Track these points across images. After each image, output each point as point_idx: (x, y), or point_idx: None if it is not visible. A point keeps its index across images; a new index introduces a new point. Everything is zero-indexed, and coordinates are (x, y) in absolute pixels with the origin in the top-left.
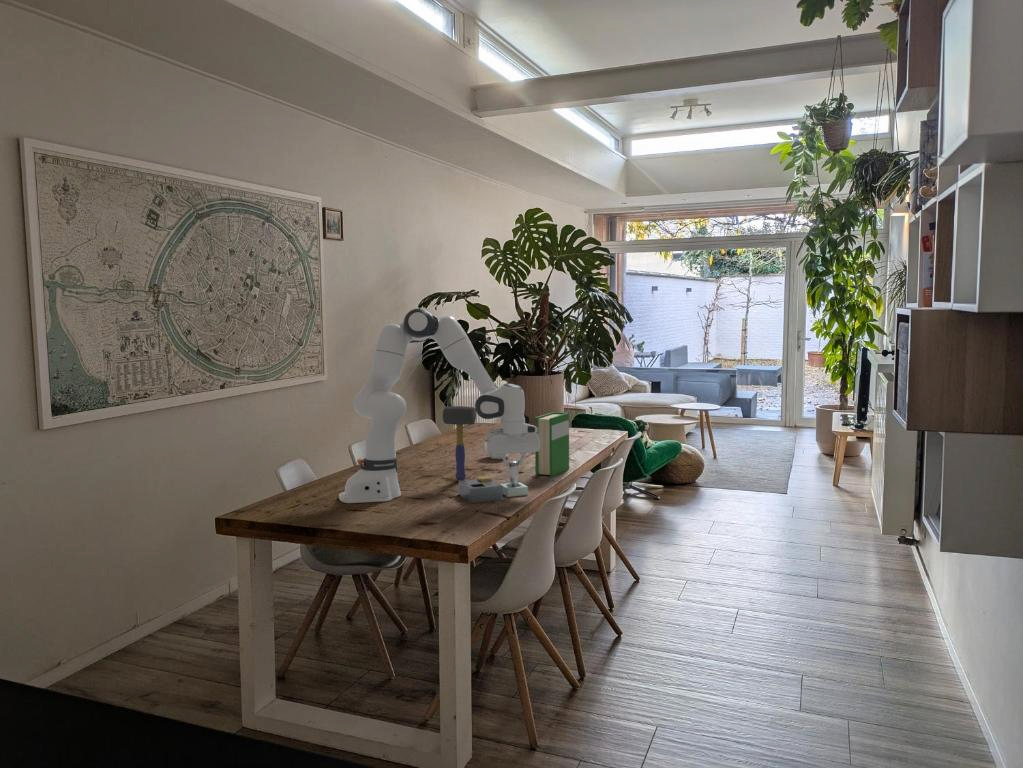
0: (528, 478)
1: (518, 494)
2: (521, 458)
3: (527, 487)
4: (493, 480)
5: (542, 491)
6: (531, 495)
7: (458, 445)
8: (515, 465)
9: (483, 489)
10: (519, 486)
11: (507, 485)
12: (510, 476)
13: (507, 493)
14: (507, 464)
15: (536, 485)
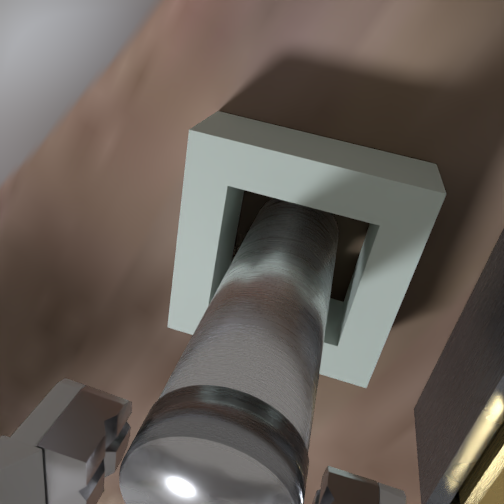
0: None
1: (314, 139)
2: (12, 493)
3: (197, 129)
4: (478, 425)
5: (52, 136)
6: (202, 65)
7: None
8: (226, 396)
9: None
10: (221, 256)
11: None
12: (323, 330)
13: (438, 178)
14: (360, 496)
15: (29, 312)
